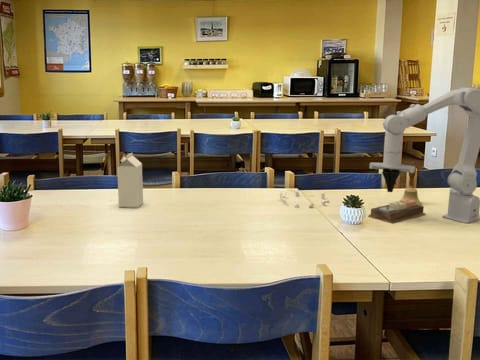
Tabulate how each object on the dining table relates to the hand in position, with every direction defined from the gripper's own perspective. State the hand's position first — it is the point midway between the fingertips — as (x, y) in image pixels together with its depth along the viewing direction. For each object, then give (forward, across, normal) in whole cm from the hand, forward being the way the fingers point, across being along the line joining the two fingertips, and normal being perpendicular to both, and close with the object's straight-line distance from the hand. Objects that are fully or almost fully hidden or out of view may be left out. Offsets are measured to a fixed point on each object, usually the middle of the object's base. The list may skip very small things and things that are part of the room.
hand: (390, 191), depth 185 cm
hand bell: (+10, -2, -24) cm, 26 cm away
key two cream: (+7, -2, -4) cm, 9 cm away
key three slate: (+8, 0, +1) cm, 8 cm away
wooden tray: (+9, -2, -4) cm, 10 cm away
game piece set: (+10, +34, -6) cm, 36 cm away
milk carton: (+9, +86, +31) cm, 92 cm away
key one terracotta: (+7, -4, -9) cm, 13 cm away
